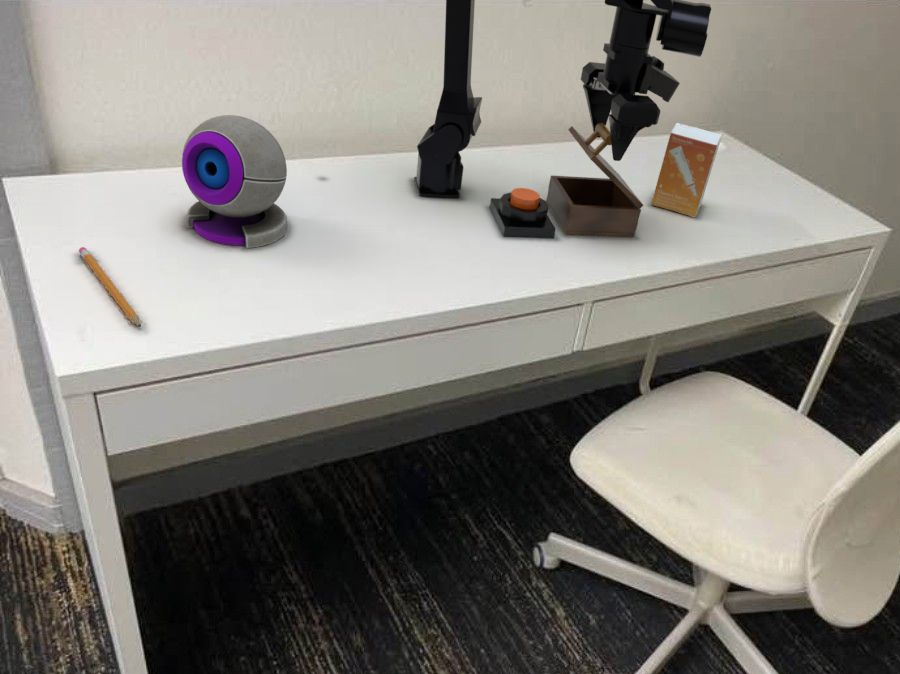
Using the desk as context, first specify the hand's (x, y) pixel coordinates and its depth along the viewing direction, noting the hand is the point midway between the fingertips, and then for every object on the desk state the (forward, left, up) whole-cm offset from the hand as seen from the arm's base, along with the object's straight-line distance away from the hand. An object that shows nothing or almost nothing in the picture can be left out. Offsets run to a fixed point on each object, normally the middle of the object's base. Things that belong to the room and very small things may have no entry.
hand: (606, 148), depth 131 cm
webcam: (-54, -6, -12) cm, 56 cm away
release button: (-12, -2, -9) cm, 15 cm away
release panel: (-12, -2, -12) cm, 17 cm away
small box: (+18, +7, -12) cm, 23 cm away
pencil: (-68, -24, -12) cm, 73 cm away
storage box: (0, 0, -12) cm, 12 cm away
